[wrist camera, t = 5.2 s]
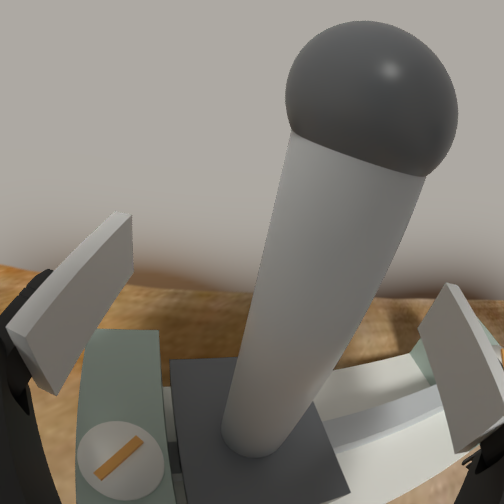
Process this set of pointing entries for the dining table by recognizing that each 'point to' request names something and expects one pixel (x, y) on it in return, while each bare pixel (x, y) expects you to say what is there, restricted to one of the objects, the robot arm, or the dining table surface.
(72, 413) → the dining table surface
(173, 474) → the rail stand
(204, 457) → the carriage
